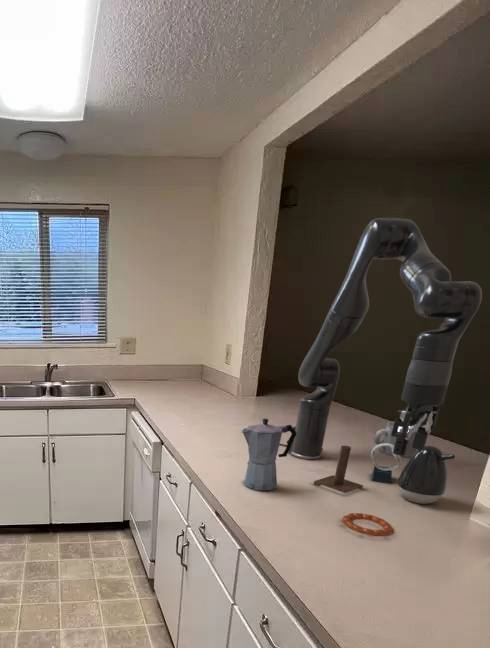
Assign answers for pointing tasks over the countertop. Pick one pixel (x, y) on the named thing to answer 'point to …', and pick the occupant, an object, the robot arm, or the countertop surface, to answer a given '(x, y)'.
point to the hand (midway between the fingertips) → (408, 451)
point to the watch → (384, 472)
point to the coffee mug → (393, 440)
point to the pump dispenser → (424, 476)
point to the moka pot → (264, 453)
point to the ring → (384, 532)
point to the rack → (340, 475)
